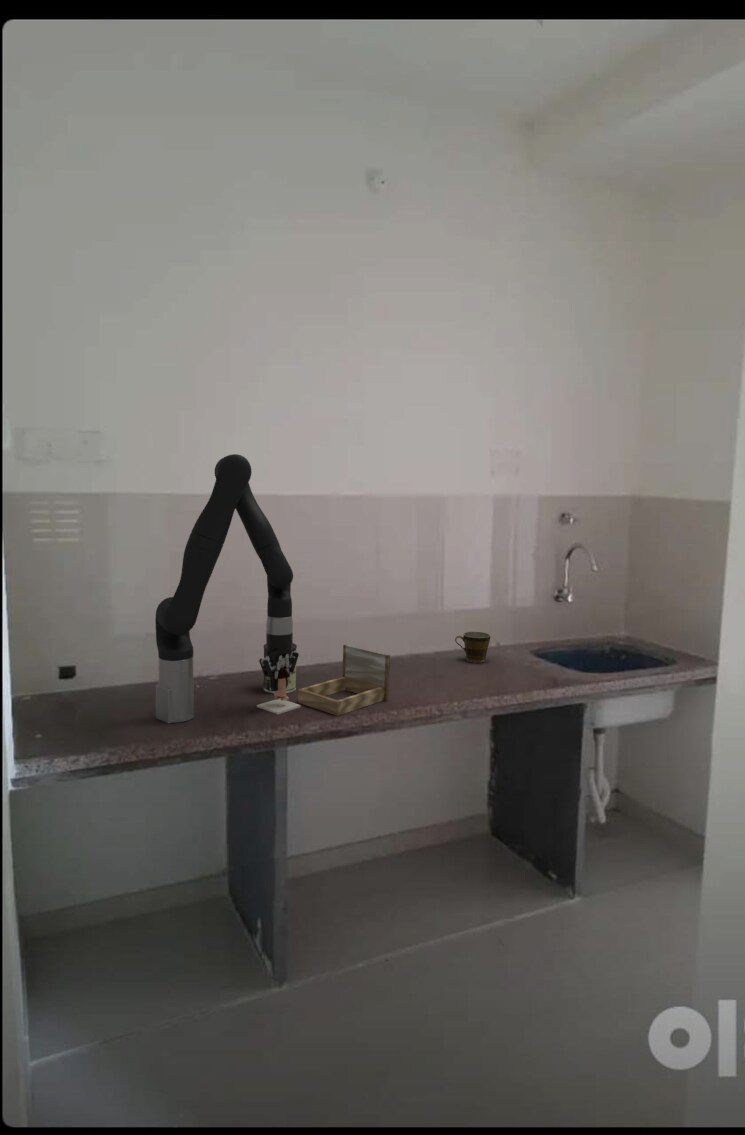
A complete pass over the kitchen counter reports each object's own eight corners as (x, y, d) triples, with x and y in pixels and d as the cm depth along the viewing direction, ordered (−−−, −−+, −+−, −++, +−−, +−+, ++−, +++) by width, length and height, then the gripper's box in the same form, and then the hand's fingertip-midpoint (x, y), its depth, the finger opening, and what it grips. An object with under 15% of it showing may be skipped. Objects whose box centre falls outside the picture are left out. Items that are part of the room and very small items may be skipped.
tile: (277, 714, 208) (277, 712, 208) (256, 707, 214) (256, 705, 214) (300, 707, 215) (300, 705, 215) (280, 700, 221) (280, 698, 220)
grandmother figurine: (293, 697, 216) (294, 655, 214) (290, 701, 212) (291, 658, 210) (267, 695, 216) (268, 653, 215) (264, 699, 212) (265, 656, 211)
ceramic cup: (486, 657, 278) (487, 631, 276) (491, 664, 268) (493, 637, 266) (451, 657, 277) (453, 631, 275) (456, 664, 267) (457, 637, 266)
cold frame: (340, 716, 208) (341, 668, 206) (295, 701, 219) (296, 656, 218) (388, 700, 224) (390, 655, 222) (344, 687, 235) (345, 644, 234)
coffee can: (256, 690, 230) (256, 646, 228) (277, 682, 239) (277, 639, 237) (282, 696, 225) (283, 651, 223) (302, 687, 233) (303, 644, 232)
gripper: (269, 637, 204) (269, 697, 206) (306, 629, 214) (305, 686, 217) (252, 632, 208) (251, 691, 211) (288, 625, 219) (288, 681, 221)
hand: (279, 688), depth 214 cm, fingers closed on grandmother figurine, 3 cm apart
